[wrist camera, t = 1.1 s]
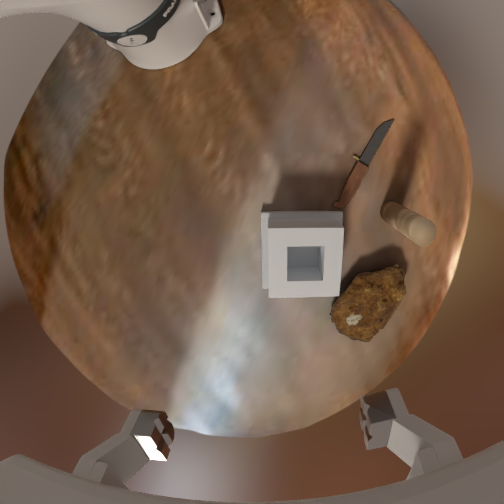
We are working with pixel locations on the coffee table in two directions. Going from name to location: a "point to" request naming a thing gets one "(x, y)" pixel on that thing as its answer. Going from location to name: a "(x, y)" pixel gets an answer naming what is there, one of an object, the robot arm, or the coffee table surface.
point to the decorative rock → (368, 303)
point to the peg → (409, 223)
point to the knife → (362, 166)
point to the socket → (302, 253)
